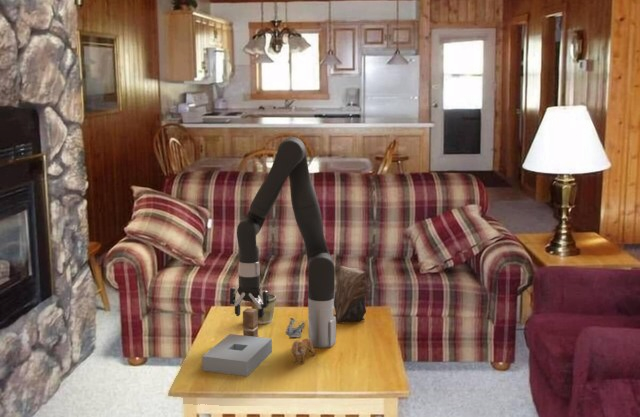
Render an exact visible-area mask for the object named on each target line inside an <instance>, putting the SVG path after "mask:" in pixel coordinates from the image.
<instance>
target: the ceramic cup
mask: <svg viewBox="0 0 640 417" xmlns="http://www.w3.org/2000/svg"><path fill="white" fill-rule="evenodd" d="M259 297H260V299H261V301H262V303H263V297H262V296H261V294H260V295H259ZM268 298H269V305H268V306H267V307H266V308H264V315H263V317H262V318H261V319H258V324H260V325H266V324H270V323H271V322H273V319H274V313H275V307H276V300H277V296H276V295H275V294H273V293H271V292H270V293H269V292H268ZM250 304H251V309H257V316H258V309H259V308H258V306H257V305H256V304H255V303H254V302H250Z"/></svg>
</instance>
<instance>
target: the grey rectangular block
mask: <svg viewBox="0 0 640 417" xmlns="http://www.w3.org/2000/svg"><path fill="white" fill-rule="evenodd" d="M272 353H273V338H268V337H260V336H258V337H253V336H244V335H241V334H236V333H235V334H233V333H229V334H228V335H227V336H225V337H224V338H223V339H222V340H221V341H219V342H218V343H217V344H216V345H214V346H213V347H212V348H210V349H209V350H208V351H207V352H205V354H203V355H202V356H201V359H202V360H201V362H202V364H201V366H202V371H204V372H211V373H218V374H227V375H234V376H243V377H249V375H251V374H252V372H254V370H255V369H257V368H258V366H260V365H261V364H262V363H263V362H264V361H265V360H266V359H267V358H268V357H269V356H270V355H271V354H272Z"/></svg>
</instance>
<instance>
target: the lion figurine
mask: <svg viewBox="0 0 640 417" xmlns="http://www.w3.org/2000/svg"><path fill="white" fill-rule="evenodd" d="M308 349H309V350H308ZM307 350H308V352H309V353H311V355H310V356H311V357H315V348H314V347H313V346H312V341H311V340H310V339H309V337H308V338H304V339H303V340H300V339H298V340H295V341H294V342H293V343H292V344H291V354H292V355H293V359H294V361H293V363H292V364H294V365H296V364H297V363H298V360H297V358H300V364H301V365H305V355H306V352H307Z"/></svg>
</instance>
